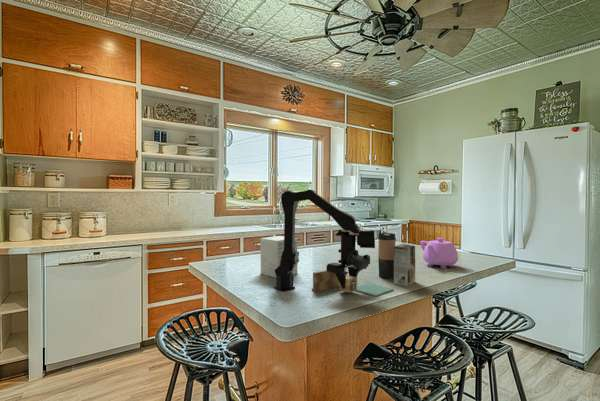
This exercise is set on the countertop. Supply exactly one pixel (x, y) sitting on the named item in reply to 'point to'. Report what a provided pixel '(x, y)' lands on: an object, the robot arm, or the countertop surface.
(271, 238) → the supplement box
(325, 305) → the countertop surface
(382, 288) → the mat
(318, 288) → the screen
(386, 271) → the travel mug
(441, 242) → the teapot
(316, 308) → the countertop surface
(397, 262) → the coffee box
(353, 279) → the letter block
